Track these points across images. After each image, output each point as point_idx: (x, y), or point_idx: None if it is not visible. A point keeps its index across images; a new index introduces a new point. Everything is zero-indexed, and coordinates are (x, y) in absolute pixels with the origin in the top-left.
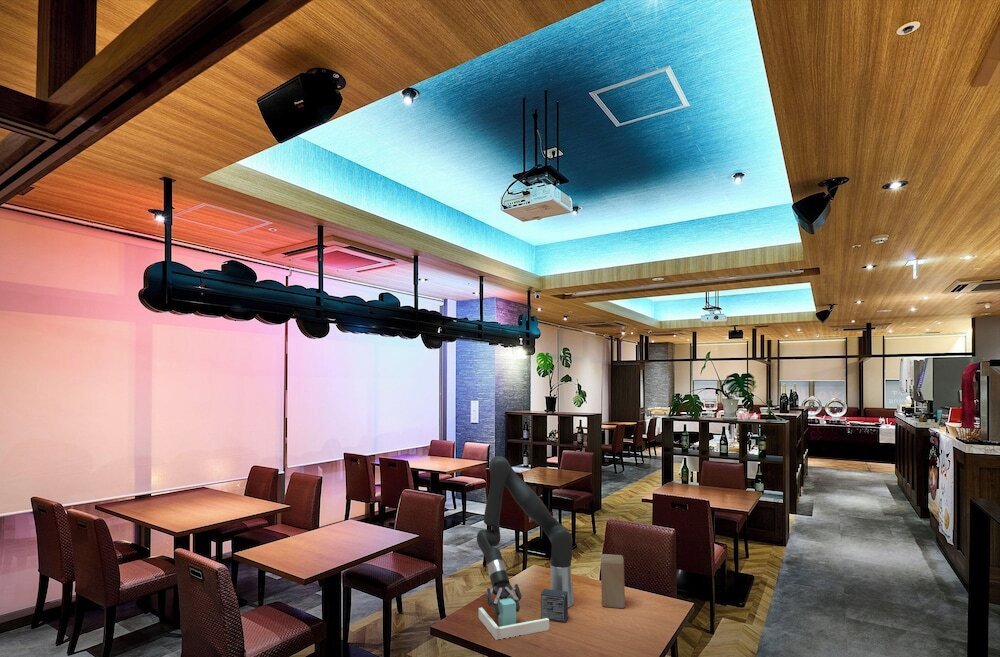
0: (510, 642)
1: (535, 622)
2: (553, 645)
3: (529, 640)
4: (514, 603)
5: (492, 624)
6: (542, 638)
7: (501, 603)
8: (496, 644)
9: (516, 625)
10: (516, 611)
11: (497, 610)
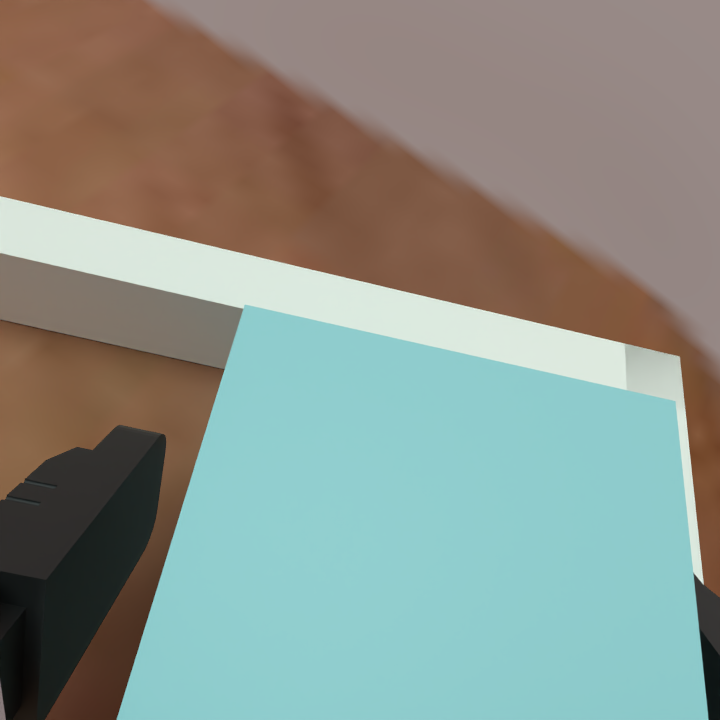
0: (479, 294)
1: (67, 213)
2: (163, 52)
3: (287, 218)
4: (298, 323)
5: (692, 518)
6: (145, 174)
7: (685, 576)
8: (624, 341)
9: (375, 289)
10: (147, 537)
11: (696, 590)
